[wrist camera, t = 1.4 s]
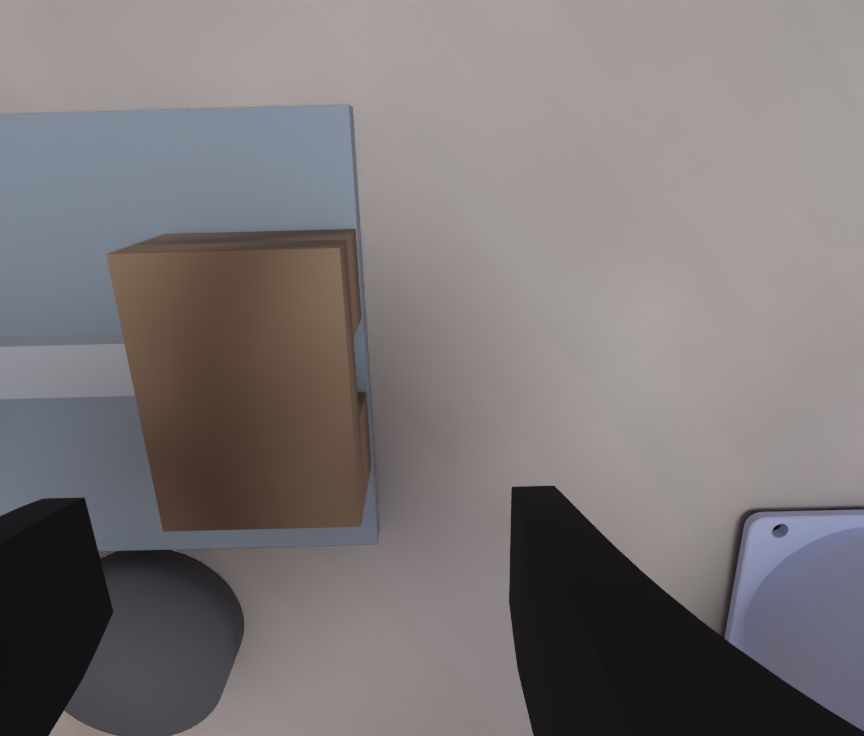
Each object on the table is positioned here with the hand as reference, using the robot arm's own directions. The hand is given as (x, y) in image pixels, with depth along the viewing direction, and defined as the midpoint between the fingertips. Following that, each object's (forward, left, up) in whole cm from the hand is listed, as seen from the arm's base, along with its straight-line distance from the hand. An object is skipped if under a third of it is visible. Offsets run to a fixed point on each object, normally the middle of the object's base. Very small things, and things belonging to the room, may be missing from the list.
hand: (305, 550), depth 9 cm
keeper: (+2, 0, -9) cm, 9 cm away
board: (+7, 0, -10) cm, 12 cm away
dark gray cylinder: (+8, +10, -10) cm, 16 cm away
